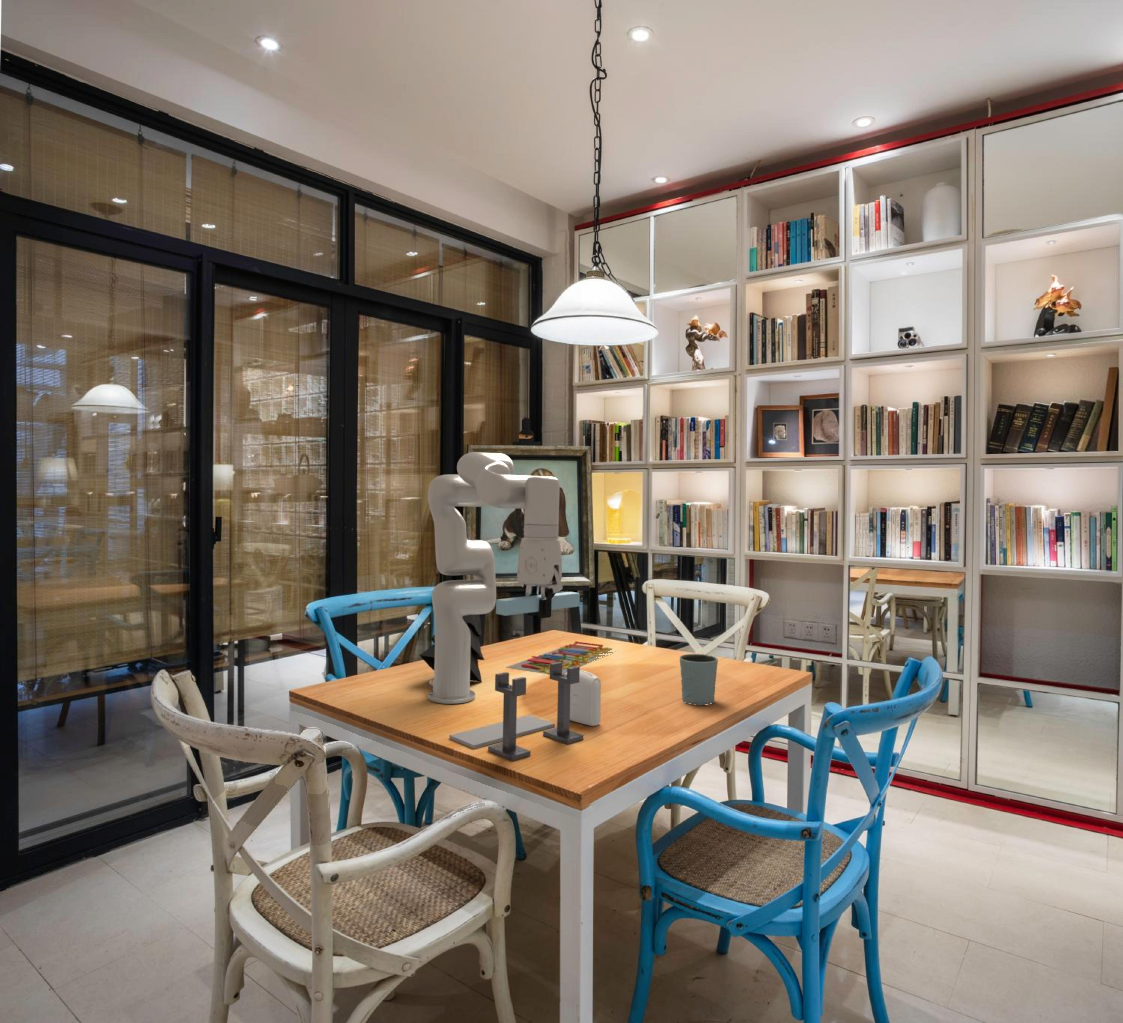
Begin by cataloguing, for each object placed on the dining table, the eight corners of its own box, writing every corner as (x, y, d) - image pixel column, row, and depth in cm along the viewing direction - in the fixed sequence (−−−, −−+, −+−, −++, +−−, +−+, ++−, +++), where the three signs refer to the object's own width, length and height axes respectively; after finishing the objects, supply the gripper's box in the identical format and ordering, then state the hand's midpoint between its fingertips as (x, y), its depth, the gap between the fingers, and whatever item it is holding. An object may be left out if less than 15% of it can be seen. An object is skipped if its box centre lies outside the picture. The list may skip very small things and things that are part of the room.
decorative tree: (478, 695, 215) (511, 590, 233) (458, 674, 204) (494, 565, 222) (434, 689, 220) (470, 586, 239) (412, 668, 209) (451, 562, 227)
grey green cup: (721, 700, 203) (722, 656, 203) (709, 709, 194) (710, 663, 194) (686, 694, 208) (687, 652, 208) (673, 702, 199) (674, 658, 199)
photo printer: (559, 718, 183) (560, 668, 183) (571, 715, 186) (572, 666, 186) (591, 728, 176) (592, 676, 176) (603, 724, 179) (604, 673, 179)
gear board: (558, 669, 227) (505, 661, 236) (558, 677, 227) (505, 669, 236) (619, 645, 267) (571, 639, 276) (618, 651, 267) (571, 646, 276)
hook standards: (488, 751, 158) (489, 674, 158) (558, 731, 173) (560, 660, 173) (512, 761, 153) (513, 681, 152) (583, 739, 167) (585, 666, 167)
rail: (495, 613, 156) (496, 599, 156) (570, 604, 171) (570, 591, 171) (505, 615, 154) (505, 601, 154) (579, 606, 169) (579, 593, 169)
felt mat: (449, 738, 166) (449, 735, 166) (529, 718, 183) (529, 714, 183) (473, 749, 160) (473, 745, 159) (554, 726, 176) (554, 723, 176)
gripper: (504, 531, 165) (502, 613, 166) (554, 535, 154) (552, 623, 154) (529, 530, 171) (527, 610, 171) (579, 534, 159) (577, 620, 159)
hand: (539, 615), depth 162 cm, fingers closed on rail, 3 cm apart
